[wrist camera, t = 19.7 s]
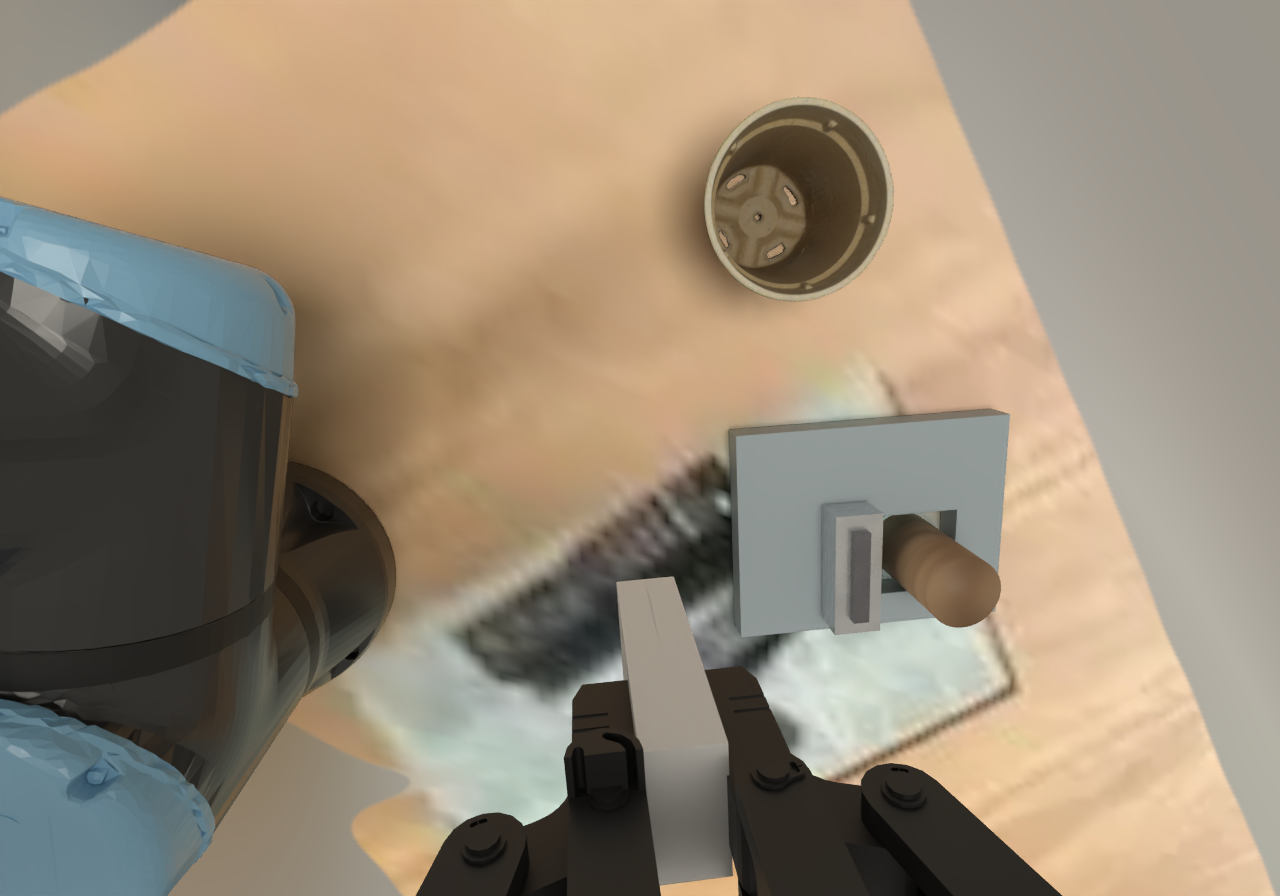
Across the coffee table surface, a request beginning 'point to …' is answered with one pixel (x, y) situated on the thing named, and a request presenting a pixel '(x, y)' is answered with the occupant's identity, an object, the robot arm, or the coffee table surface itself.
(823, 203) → the flower pot
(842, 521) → the bar
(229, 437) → the robot arm
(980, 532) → the housing plate
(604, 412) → the coffee table surface
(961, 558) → the walnut peg
